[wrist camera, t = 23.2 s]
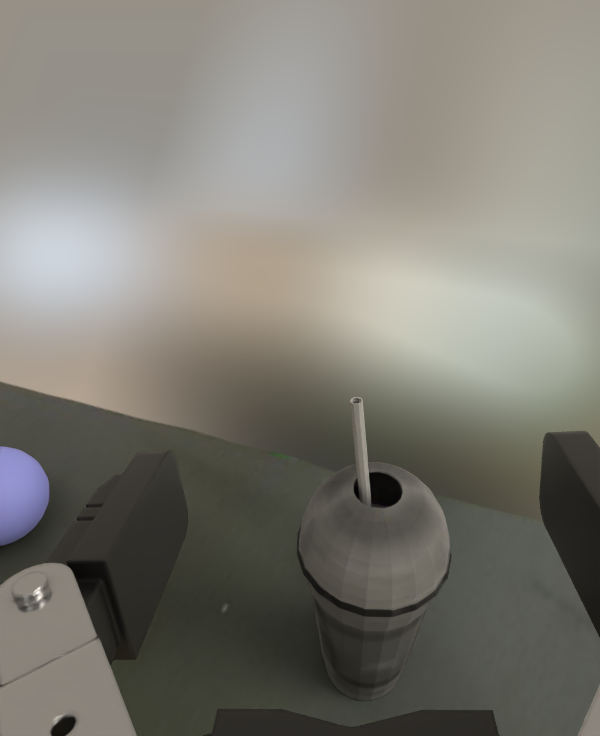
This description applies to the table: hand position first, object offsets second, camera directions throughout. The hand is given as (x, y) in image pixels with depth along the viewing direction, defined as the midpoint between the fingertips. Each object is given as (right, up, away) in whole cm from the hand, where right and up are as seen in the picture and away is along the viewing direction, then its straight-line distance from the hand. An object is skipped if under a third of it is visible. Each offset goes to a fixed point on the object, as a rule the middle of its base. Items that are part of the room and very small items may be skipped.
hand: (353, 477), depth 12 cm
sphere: (-23, -10, +30) cm, 39 cm away
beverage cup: (+3, -15, +21) cm, 26 cm away
